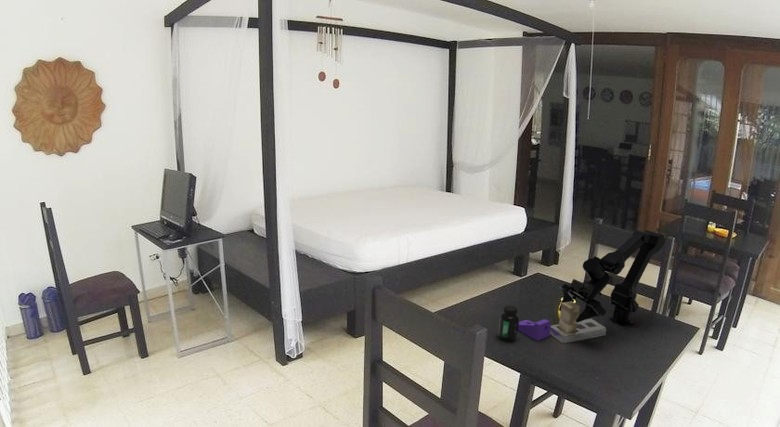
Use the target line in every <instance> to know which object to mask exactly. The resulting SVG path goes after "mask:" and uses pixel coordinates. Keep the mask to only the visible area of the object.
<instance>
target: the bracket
mask: <svg viewBox="0 0 780 427" xmlns="http://www.w3.org/2000/svg"><path fill="white" fill-rule="evenodd" d="M551 326H552V322H551V321H550V320H549V319H548V320H547V319H546V318H543V319H541V320H539V321H536V322H534V321H532V320H530V319H524V320H522V321H521V320H520V321H519V326H518V332H520V333H522V334H524V335H526V336H527V337H529V338H530V339H531V338H532V339H533V340H535V341H537V342H538V341H541V340H543V339H546V338H548V337H550V336H551V334H550V327H551Z"/></svg>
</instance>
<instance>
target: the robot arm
mask: <svg viewBox="0 0 780 427" xmlns="http://www.w3.org/2000/svg"><path fill="white" fill-rule="evenodd" d="M665 244H666V238H665V235H664V234H663V233H659V232H655V231H653V230H649V229H646V230H643V231H642V230H639V229H637V230H634V232H633V233H632V235H631V236H630V237H628V239H626V241H624V242H623V243H622V244H621V246H619V247H618V248H617V249H616V250H615V251H612V252H608V253H606V254H605V255H604V256H602V257H601V258H600V257H598V256H593V257H592V258H589V259H586V260H584V262H583V263H582V269H583V270H584V272H585V273H586V274H587V276H588V277H589V280H584V281H583V282H581V281H579V280H578V279H576V278H575V279H574V278H573V279H572V280H571V283H570V284H569V283H563V285H562V286H561V287H560V288H561V292H562V294H563V297H562V300H561V303H560V305H559V308H558V311H559V312H561V306H562V303H564V302H571V301H572V302H573V303H575V299H578V300H580V301H581V302H583V303H585V308H584V309H583V311H582V312H581V313H579V317H578V318H577V319H576V322H577V323H578V322H580V321H583V320H586V319H592V318H593V317H594V318H595V317H599V316H601V317H603V316H604V315H605V314H606V312H607V309H606V308H605V307H604V305H603V304H602V303H601V302H600V301H599V300H596V298H597V296H599V297H601V295H603V294H602V291H604V289H605V288H606V287H607V285H608V284H611V285H612V284H613V283H614V281H613V279H614V277H613V276H612V275H615V276H617V275H619V274H620V273H621V272H622V271H623V269H625V267H626V261H627V260H629V258H630V257H631V256H632V255H634V254H635V252H637V250H638V252H637V254H636V256H635V258H634V260H633V262H632V264H631V265H630V268H629V270H628V271H627V274H626V275H625V277H624V280H623V281H622V282H621V283H619V282H618V283H615V285H614V287H613V290H611V293H610V304H611V305H613V306H614V310H613V315H612V316H609V320H611V321H613V322H615V323H616V324H618V325H620V326H627V325H633V324H634V323H635V322H634V321H632V315H633V313H636V312H637V311H638V309H639V303H638V302H637V300H636V299H637V287H638V285H639V282H640V280H641V278H642V276H643V274H644V272H645V270H646V268H647V267H648V264H649V263H650V260H651V258H652V257H653V256H654V255H655V254H657V253H659V252H660V251H661V249H662V248H663V247H664V246H665Z"/></svg>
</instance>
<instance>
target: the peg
mask: <svg viewBox="0 0 780 427" xmlns="http://www.w3.org/2000/svg"><path fill="white" fill-rule="evenodd" d="M561 303H562V302H561ZM580 310H581V306H580V305H578V304H577V303H575V302H572V301H571V302H564V303H562V306H561V311H560V315H559V322H558V324H559V327H558V328H559V329H560V330H561V331H563V332H564V333H566V334H569V333H575V332H576V330H577V324H578V323H577V322H576V319H577V318H578V317H579V315H580Z"/></svg>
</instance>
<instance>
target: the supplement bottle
mask: <svg viewBox="0 0 780 427" xmlns="http://www.w3.org/2000/svg"><path fill="white" fill-rule="evenodd" d="M519 322H520V316H519V314H518V307H517V306H515V305H511V304H508V305H507V304H506V305H504V306H503V312H502V313H501V314H500V317H499V325H498V338H499V339H500V340H502V341H504V342H514V341H516V340H518V332H519V330H518V326H519Z"/></svg>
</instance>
